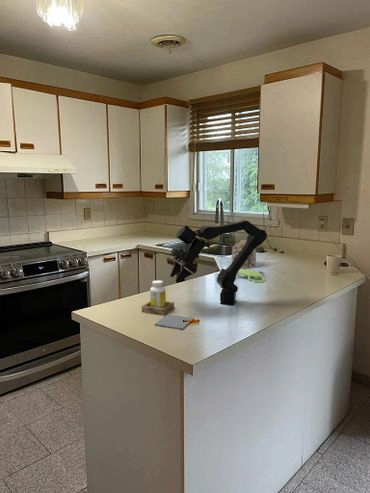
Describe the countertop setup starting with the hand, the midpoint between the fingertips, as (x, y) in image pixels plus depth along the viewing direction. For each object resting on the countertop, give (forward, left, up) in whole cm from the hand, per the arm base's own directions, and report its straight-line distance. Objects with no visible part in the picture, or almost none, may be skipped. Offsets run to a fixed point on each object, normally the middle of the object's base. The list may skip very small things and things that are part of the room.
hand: (173, 279), depth 165 cm
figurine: (-15, -66, -14) cm, 69 cm away
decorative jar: (-8, -94, -14) cm, 95 cm away
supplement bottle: (+6, +4, -14) cm, 15 cm away
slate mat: (-7, +15, -13) cm, 22 cm away
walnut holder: (+6, +4, -13) cm, 15 cm away
